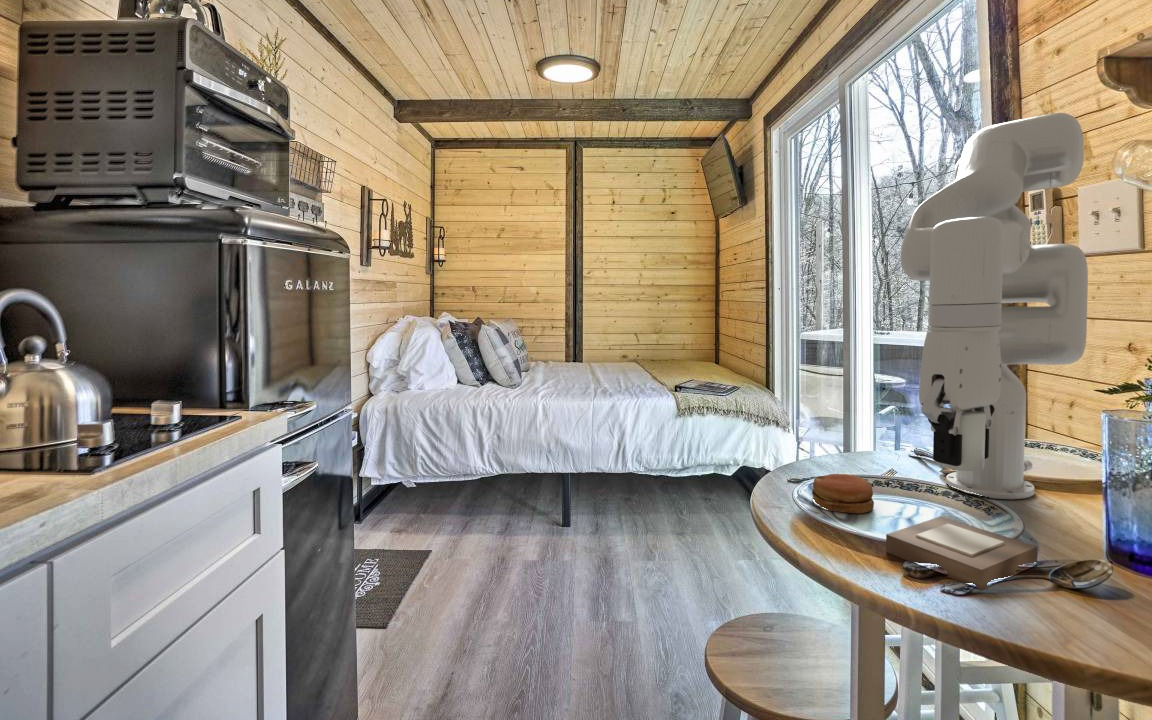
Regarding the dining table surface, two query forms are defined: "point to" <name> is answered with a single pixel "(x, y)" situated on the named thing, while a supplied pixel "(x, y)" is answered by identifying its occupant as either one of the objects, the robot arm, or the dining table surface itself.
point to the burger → (843, 493)
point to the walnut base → (961, 550)
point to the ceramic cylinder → (971, 441)
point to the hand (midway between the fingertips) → (960, 458)
